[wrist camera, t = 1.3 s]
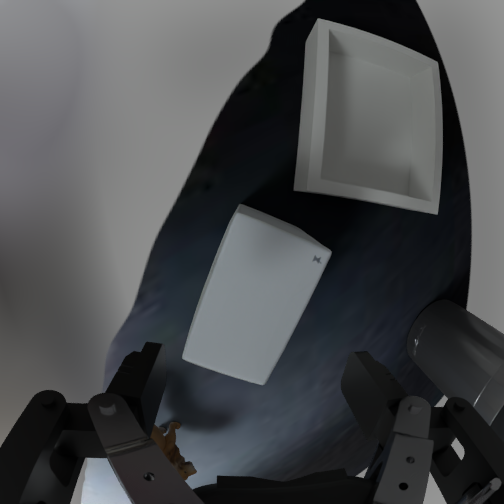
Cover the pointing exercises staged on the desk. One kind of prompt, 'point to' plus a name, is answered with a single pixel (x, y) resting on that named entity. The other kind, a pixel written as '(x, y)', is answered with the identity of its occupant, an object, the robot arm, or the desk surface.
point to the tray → (369, 120)
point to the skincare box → (254, 295)
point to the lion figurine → (172, 449)
